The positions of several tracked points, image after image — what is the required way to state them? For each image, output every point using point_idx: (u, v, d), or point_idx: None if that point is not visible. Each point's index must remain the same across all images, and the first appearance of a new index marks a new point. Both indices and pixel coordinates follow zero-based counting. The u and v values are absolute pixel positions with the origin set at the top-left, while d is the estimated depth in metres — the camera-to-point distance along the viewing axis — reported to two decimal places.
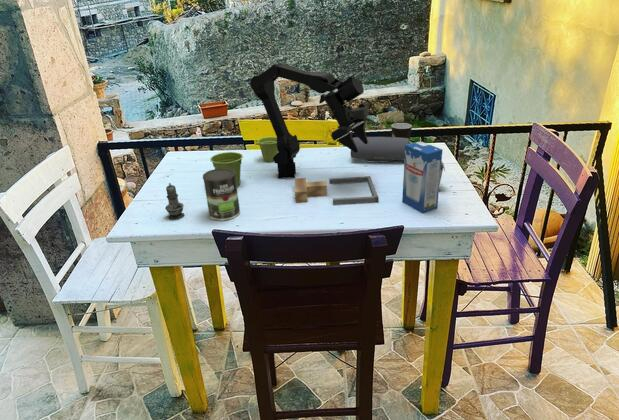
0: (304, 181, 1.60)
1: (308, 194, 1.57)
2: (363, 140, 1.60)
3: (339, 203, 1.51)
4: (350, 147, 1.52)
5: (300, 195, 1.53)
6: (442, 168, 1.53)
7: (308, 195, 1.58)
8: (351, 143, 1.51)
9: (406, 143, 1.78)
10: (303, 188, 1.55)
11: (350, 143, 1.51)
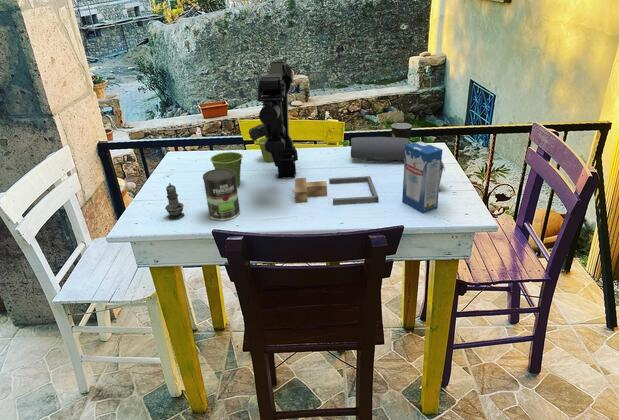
0: (304, 181, 1.60)
1: (308, 194, 1.57)
2: None
3: (339, 203, 1.51)
4: None
5: (300, 195, 1.53)
6: (442, 168, 1.53)
7: (308, 195, 1.58)
8: None
9: (406, 143, 1.78)
10: (303, 188, 1.55)
11: None
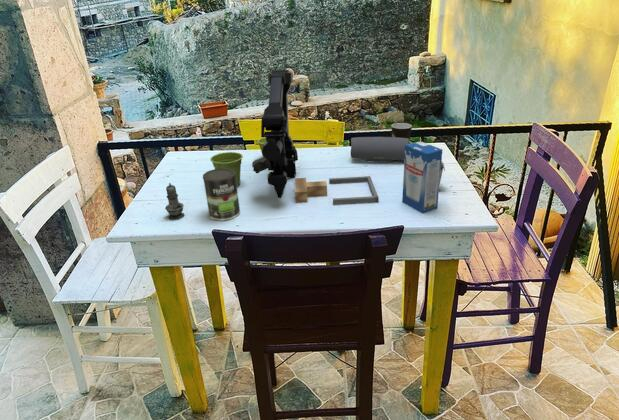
0: (304, 181, 1.60)
1: (308, 194, 1.57)
2: None
3: (339, 203, 1.51)
4: None
5: (300, 195, 1.53)
6: (442, 168, 1.53)
7: (308, 195, 1.58)
8: None
9: (406, 143, 1.78)
10: (303, 188, 1.55)
11: None
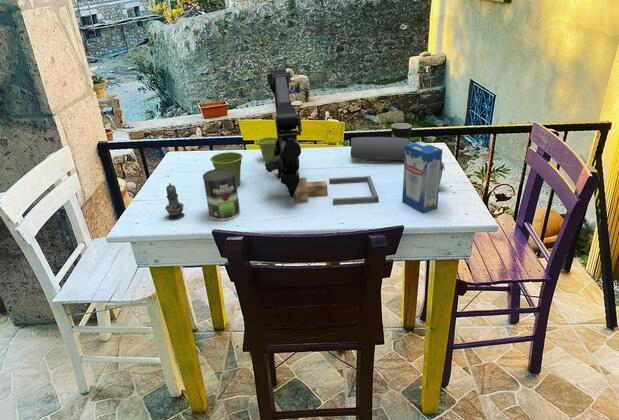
0: (304, 181, 1.60)
1: (308, 194, 1.57)
2: None
3: (339, 203, 1.51)
4: None
5: (300, 195, 1.53)
6: (442, 168, 1.53)
7: (308, 195, 1.58)
8: None
9: (406, 143, 1.78)
10: (303, 188, 1.55)
11: None
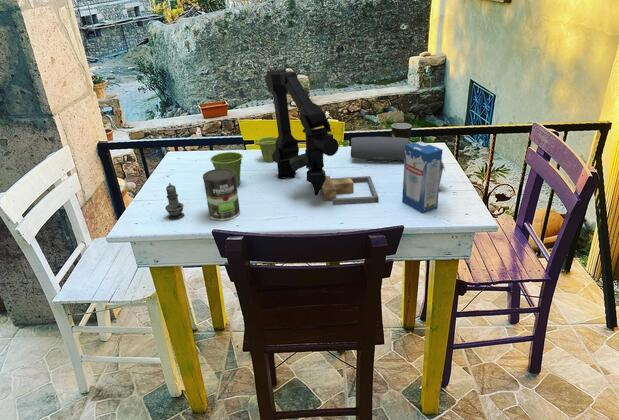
0: (329, 179, 1.61)
1: None
2: None
3: (339, 203, 1.51)
4: None
5: (329, 193, 1.53)
6: (442, 168, 1.53)
7: None
8: None
9: (406, 143, 1.78)
10: (331, 186, 1.55)
11: None
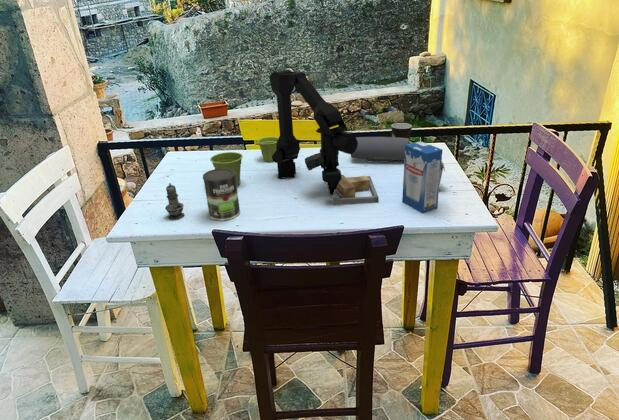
0: (344, 178, 1.61)
1: None
2: None
3: (339, 203, 1.51)
4: None
5: (348, 191, 1.54)
6: (442, 168, 1.53)
7: None
8: None
9: (406, 143, 1.78)
10: (349, 184, 1.56)
11: None
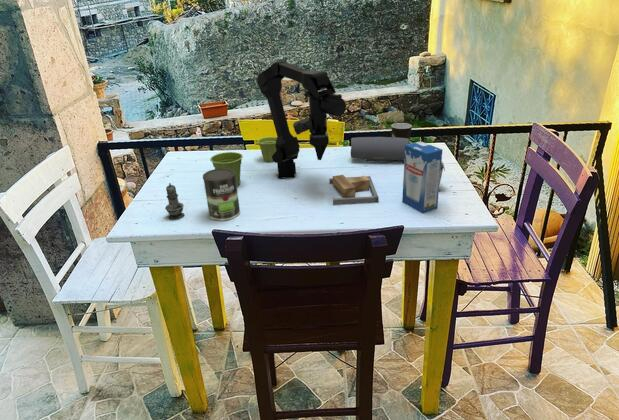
0: (344, 178, 1.61)
1: None
2: None
3: (339, 203, 1.51)
4: None
5: (348, 191, 1.54)
6: (442, 168, 1.53)
7: None
8: None
9: (406, 143, 1.78)
10: (349, 185, 1.56)
11: None
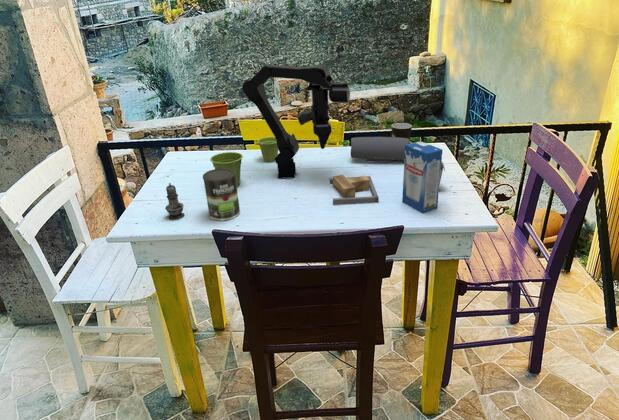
0: (344, 178, 1.61)
1: None
2: None
3: (339, 203, 1.51)
4: None
5: (348, 191, 1.54)
6: (442, 168, 1.53)
7: None
8: None
9: (406, 143, 1.78)
10: (349, 185, 1.56)
11: None
